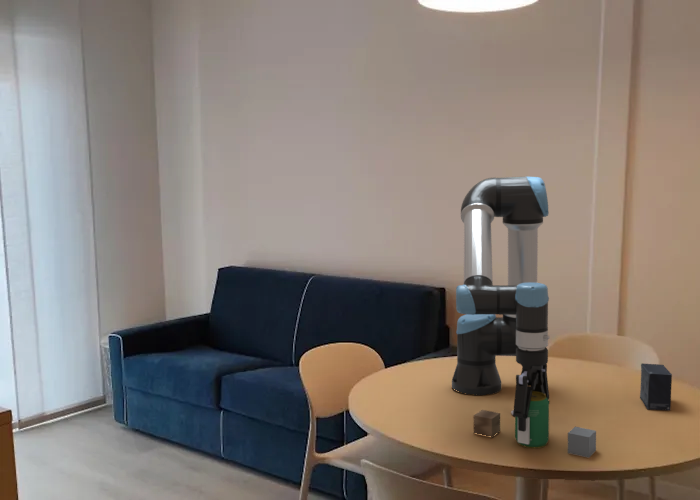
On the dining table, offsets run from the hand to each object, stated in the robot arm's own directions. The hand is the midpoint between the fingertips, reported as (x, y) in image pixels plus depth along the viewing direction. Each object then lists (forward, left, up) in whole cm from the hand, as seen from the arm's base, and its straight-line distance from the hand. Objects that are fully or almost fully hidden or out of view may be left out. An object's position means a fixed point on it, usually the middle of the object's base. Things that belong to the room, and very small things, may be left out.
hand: (531, 436), depth 171 cm
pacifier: (-10, +17, -2) cm, 20 cm away
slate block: (+12, +1, -2) cm, 12 cm away
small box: (+18, +45, -2) cm, 49 cm away
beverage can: (0, 0, -2) cm, 2 cm away
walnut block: (-12, 0, -2) cm, 12 cm away
